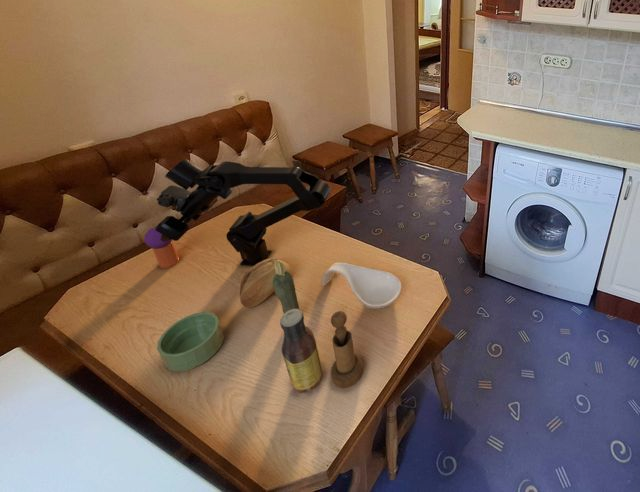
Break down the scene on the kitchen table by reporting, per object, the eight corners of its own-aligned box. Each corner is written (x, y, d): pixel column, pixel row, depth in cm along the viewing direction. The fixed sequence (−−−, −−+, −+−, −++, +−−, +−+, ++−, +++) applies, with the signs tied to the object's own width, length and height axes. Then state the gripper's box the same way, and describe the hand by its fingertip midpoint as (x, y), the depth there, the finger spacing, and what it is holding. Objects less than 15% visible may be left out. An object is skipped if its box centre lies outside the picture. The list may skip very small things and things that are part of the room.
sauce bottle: (298, 366, 79) (281, 301, 71) (327, 365, 80) (313, 300, 72) (287, 397, 73) (267, 330, 65) (318, 395, 74) (302, 328, 66)
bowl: (234, 329, 88) (229, 313, 85) (202, 374, 77) (195, 357, 75) (189, 327, 88) (183, 311, 86) (152, 372, 78) (143, 355, 75)
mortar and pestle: (354, 391, 75) (344, 331, 68) (326, 384, 76) (313, 325, 69) (368, 361, 81) (360, 304, 74) (342, 356, 82) (332, 298, 75)
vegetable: (306, 318, 91) (292, 257, 83) (293, 332, 87) (278, 270, 79) (292, 313, 92) (277, 252, 84) (279, 327, 88) (262, 265, 80)
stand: (182, 257, 110) (175, 239, 107) (171, 268, 106) (163, 249, 103) (168, 256, 110) (160, 238, 107) (155, 267, 106) (147, 249, 103)
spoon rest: (409, 288, 101) (408, 269, 98) (387, 322, 90) (385, 301, 87) (339, 267, 107) (336, 248, 105) (311, 296, 97) (307, 276, 94)
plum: (181, 238, 108) (175, 221, 106) (164, 253, 102) (157, 235, 100) (160, 238, 108) (153, 220, 106) (142, 252, 102) (134, 234, 100)
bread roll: (230, 306, 94) (222, 284, 90) (273, 267, 107) (268, 246, 104) (260, 316, 91) (253, 293, 88) (300, 274, 104) (295, 253, 101)
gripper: (196, 164, 106) (167, 196, 109) (151, 198, 89) (119, 235, 92) (230, 186, 110) (202, 217, 113) (193, 223, 93) (161, 258, 96)
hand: (173, 230), depth 103 cm, fingers open, 9 cm apart
